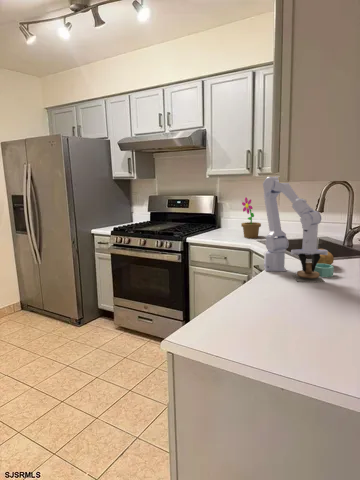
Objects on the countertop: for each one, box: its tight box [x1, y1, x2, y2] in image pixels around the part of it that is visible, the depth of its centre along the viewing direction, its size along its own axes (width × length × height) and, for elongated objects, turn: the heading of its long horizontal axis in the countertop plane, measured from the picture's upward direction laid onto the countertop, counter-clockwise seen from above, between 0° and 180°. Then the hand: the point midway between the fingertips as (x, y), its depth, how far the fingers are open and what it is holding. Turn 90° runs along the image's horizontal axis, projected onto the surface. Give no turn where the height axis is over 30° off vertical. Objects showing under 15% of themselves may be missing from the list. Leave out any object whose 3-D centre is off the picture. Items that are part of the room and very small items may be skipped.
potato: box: [317, 248, 335, 265], centre depth 158 cm, size 10×14×8 cm
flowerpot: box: [241, 196, 262, 239], centre depth 241 cm, size 14×14×30 cm
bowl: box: [314, 264, 335, 278], centre depth 146 cm, size 8×8×4 cm
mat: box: [292, 274, 325, 283], centre depth 140 cm, size 11×9×1 cm
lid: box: [296, 261, 320, 278], centre depth 140 cm, size 9×9×6 cm
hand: (308, 271), depth 140 cm, fingers closed on lid, 3 cm apart
